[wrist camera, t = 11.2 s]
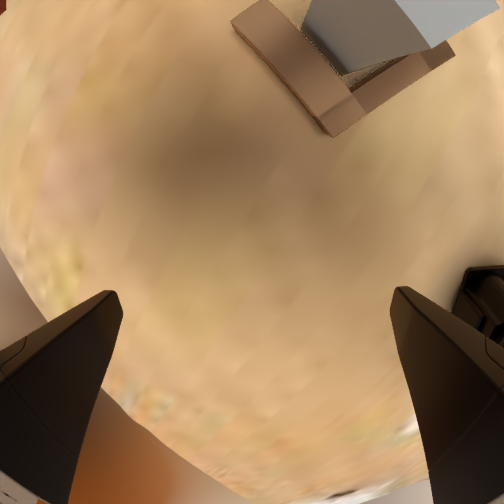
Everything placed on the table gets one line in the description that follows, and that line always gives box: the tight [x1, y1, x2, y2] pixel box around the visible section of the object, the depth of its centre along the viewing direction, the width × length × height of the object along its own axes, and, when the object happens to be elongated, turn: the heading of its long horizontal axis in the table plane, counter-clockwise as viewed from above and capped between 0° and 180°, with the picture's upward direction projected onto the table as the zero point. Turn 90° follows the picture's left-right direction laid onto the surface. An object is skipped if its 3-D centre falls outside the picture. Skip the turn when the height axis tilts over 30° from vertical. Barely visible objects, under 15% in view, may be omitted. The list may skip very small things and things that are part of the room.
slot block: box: [230, 0, 455, 138], centre depth 14 cm, size 9×10×2 cm
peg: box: [301, 0, 500, 75], centre depth 10 cm, size 4×4×12 cm
